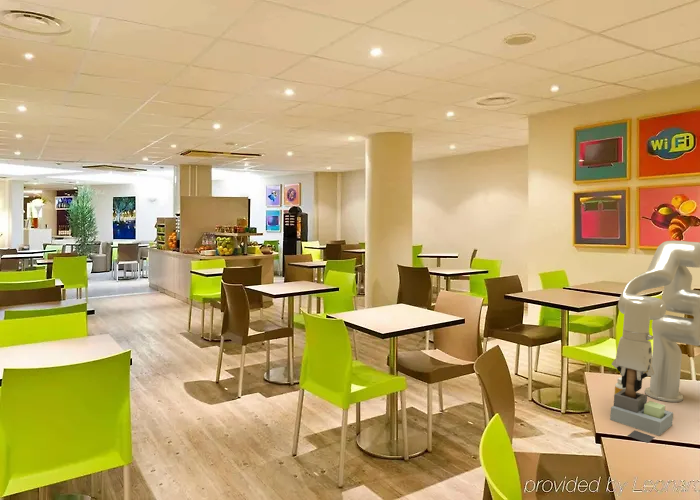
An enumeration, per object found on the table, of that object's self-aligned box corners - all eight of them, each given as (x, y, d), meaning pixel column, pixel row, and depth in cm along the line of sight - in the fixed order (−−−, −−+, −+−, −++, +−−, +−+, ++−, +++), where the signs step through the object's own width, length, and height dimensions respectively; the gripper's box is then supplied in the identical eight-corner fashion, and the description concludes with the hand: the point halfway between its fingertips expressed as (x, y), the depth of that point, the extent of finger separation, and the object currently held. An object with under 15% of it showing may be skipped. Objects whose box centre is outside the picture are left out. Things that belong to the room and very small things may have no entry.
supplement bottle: (618, 400, 192) (620, 375, 191) (633, 405, 188) (635, 379, 187) (610, 403, 189) (612, 378, 188) (625, 408, 185) (627, 382, 184)
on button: (648, 415, 172) (649, 400, 171) (663, 419, 168) (665, 405, 168) (643, 418, 169) (644, 404, 168) (658, 423, 165) (660, 408, 165)
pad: (634, 432, 166) (634, 430, 166) (654, 438, 161) (655, 437, 161) (627, 437, 162) (627, 435, 162) (647, 444, 157) (647, 442, 157)
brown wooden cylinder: (626, 400, 176) (629, 360, 174) (636, 403, 173) (640, 363, 172) (622, 402, 174) (626, 362, 172) (633, 405, 171) (636, 365, 170)
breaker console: (624, 412, 181) (626, 387, 180) (672, 426, 170) (674, 400, 169) (610, 421, 173) (611, 395, 172) (658, 437, 162) (661, 410, 161)
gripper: (666, 339, 167) (661, 393, 169) (614, 329, 180) (610, 379, 182) (658, 343, 163) (653, 398, 164) (605, 332, 175) (601, 384, 177)
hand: (631, 388), depth 173 cm, fingers closed on brown wooden cylinder, 3 cm apart
